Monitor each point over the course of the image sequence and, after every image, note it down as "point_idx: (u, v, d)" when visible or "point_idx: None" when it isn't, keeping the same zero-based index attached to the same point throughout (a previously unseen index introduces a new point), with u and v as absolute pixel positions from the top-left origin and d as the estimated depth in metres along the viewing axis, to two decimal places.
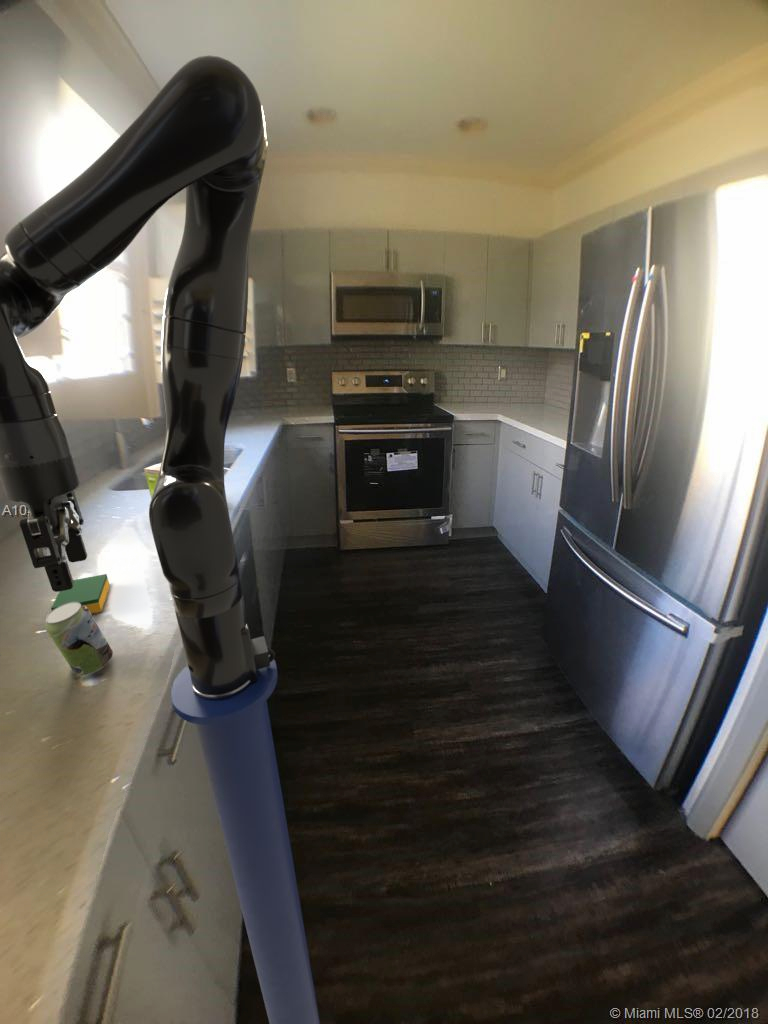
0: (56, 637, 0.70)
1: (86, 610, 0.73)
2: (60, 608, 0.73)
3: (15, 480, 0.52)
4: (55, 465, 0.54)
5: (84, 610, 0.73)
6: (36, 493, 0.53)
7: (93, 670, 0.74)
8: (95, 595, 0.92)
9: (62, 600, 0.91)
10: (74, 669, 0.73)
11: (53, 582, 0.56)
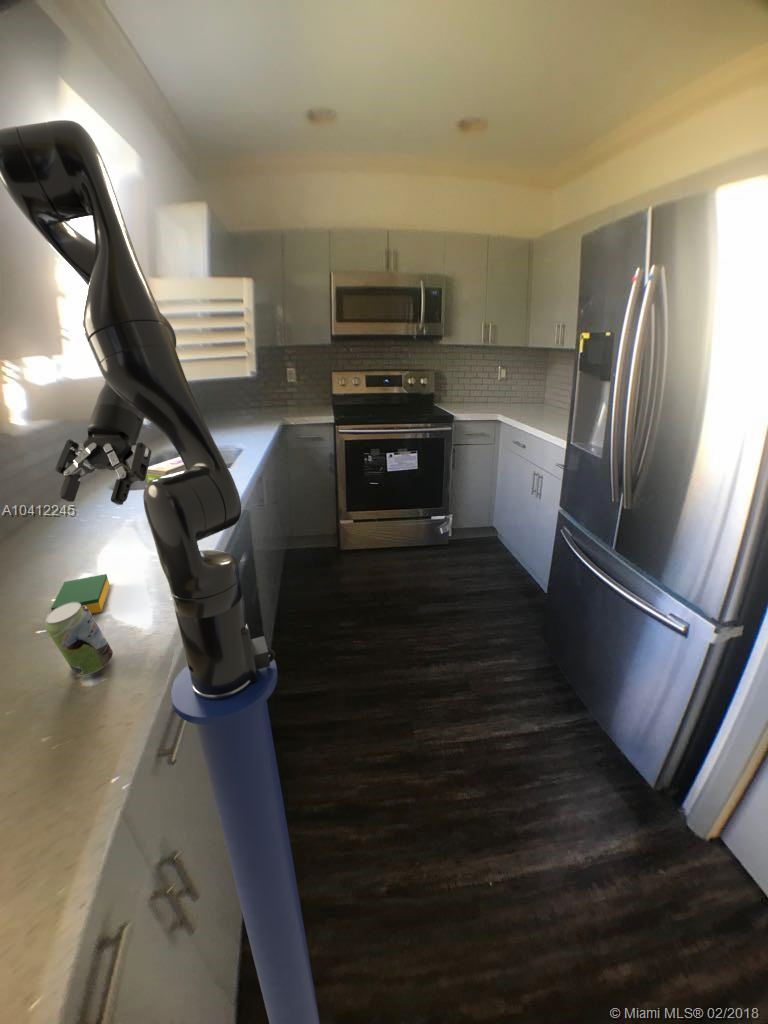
0: (56, 637, 0.70)
1: (86, 610, 0.73)
2: (60, 608, 0.73)
3: None
4: None
5: (84, 610, 0.73)
6: None
7: (93, 670, 0.74)
8: (95, 595, 0.92)
9: (62, 600, 0.91)
10: (74, 669, 0.73)
11: None
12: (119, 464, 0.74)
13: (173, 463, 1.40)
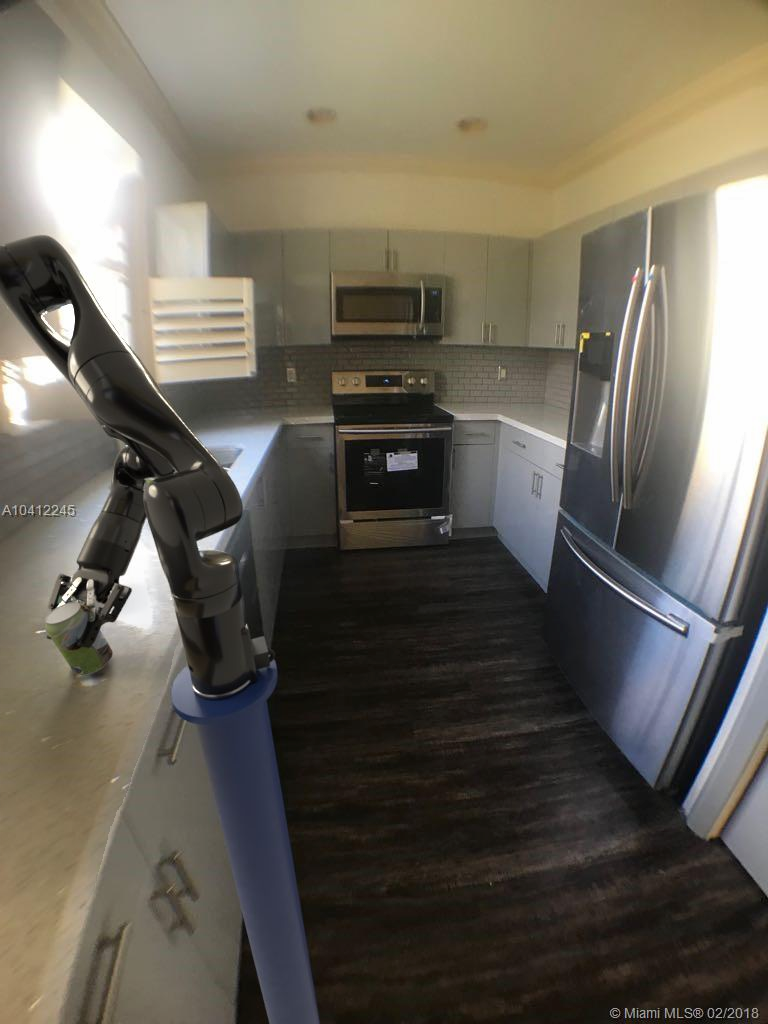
0: (55, 637, 0.70)
1: (86, 610, 0.73)
2: (59, 608, 0.72)
3: None
4: (85, 542, 0.77)
5: (84, 610, 0.72)
6: None
7: (93, 670, 0.74)
8: None
9: None
10: (74, 669, 0.73)
11: None
12: (93, 605, 0.73)
13: None
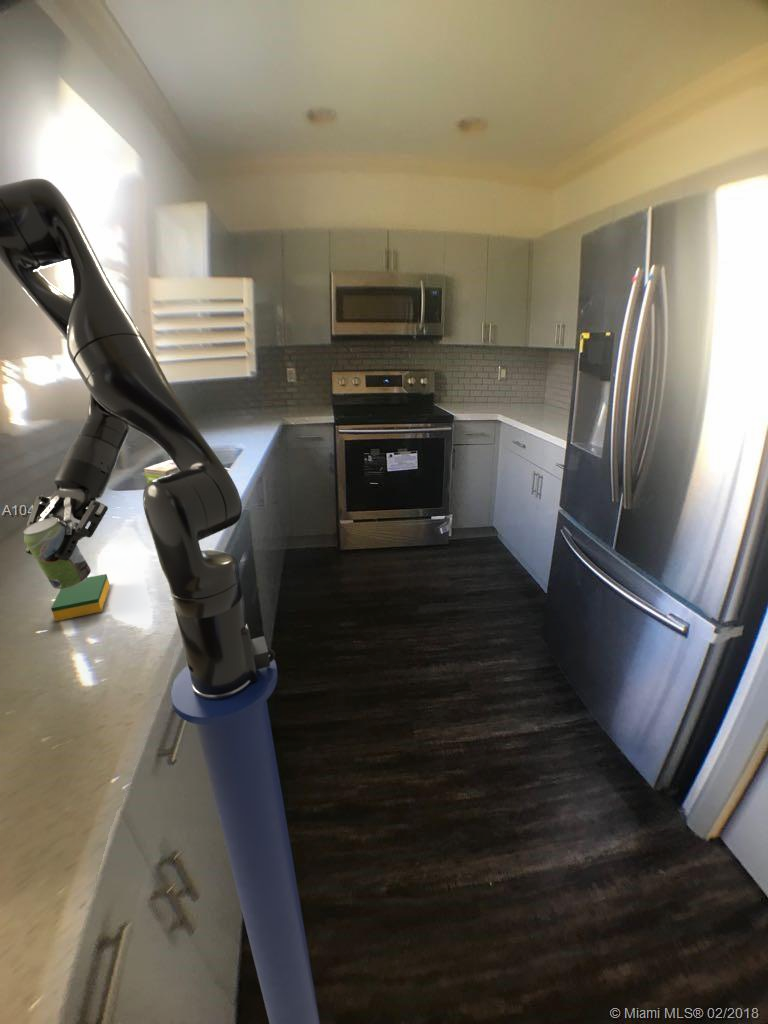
0: (33, 548, 0.73)
1: (63, 525, 0.76)
2: (37, 523, 0.76)
3: None
4: None
5: (61, 525, 0.76)
6: None
7: (71, 584, 0.77)
8: (95, 595, 0.92)
9: (62, 600, 0.91)
10: (53, 582, 0.77)
11: None
12: (69, 520, 0.76)
13: (173, 463, 1.40)
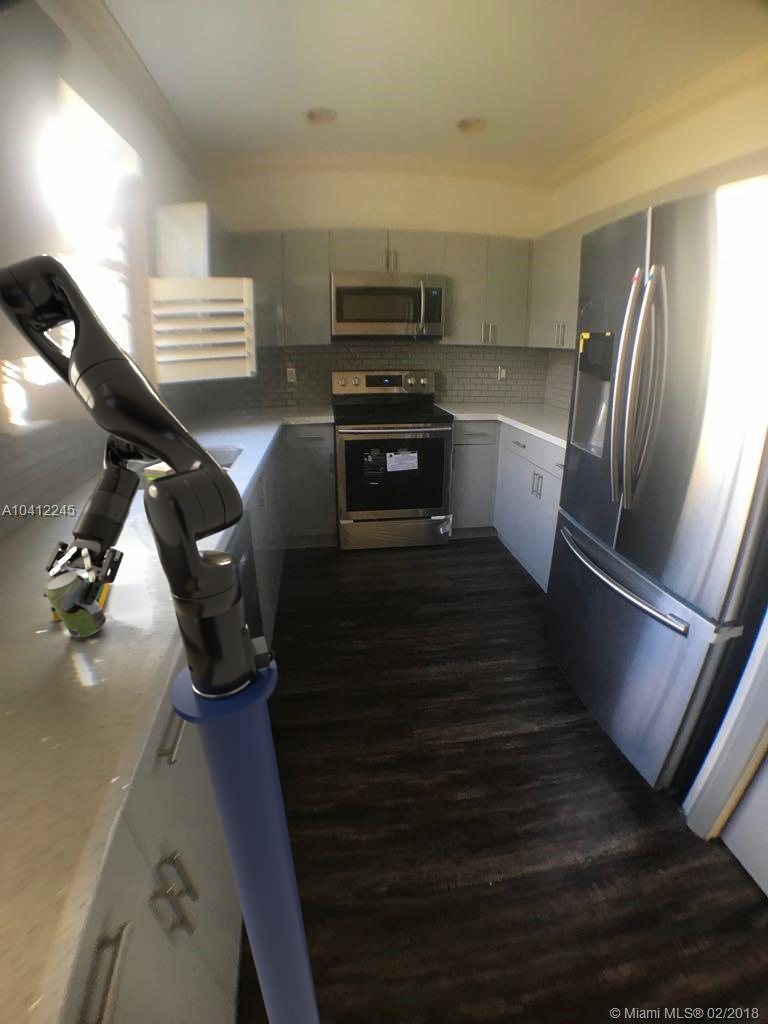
0: (55, 601, 0.79)
1: (82, 579, 0.82)
2: (58, 577, 0.82)
3: None
4: None
5: (80, 579, 0.82)
6: None
7: (88, 633, 0.83)
8: None
9: None
10: (71, 632, 0.83)
11: None
12: (91, 568, 0.82)
13: None
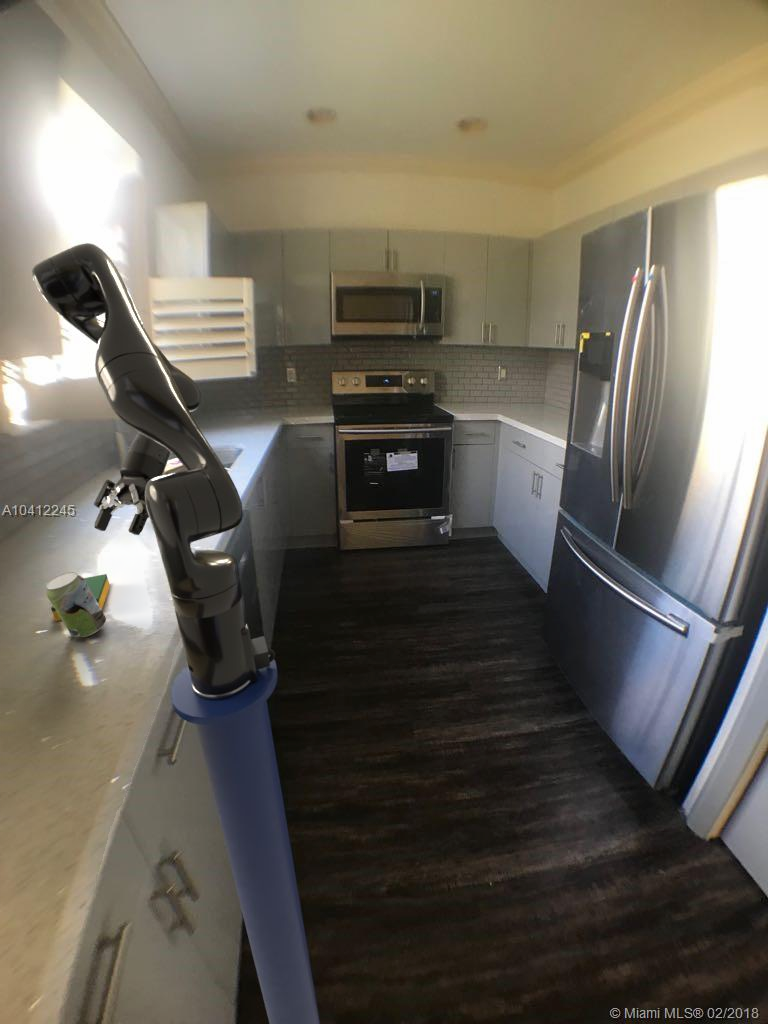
0: (55, 601, 0.79)
1: (82, 579, 0.82)
2: (58, 577, 0.82)
3: None
4: (126, 456, 0.93)
5: (80, 579, 0.82)
6: None
7: (88, 633, 0.83)
8: (95, 595, 0.92)
9: None
10: (71, 632, 0.83)
11: None
12: (138, 501, 0.89)
13: (173, 463, 1.40)
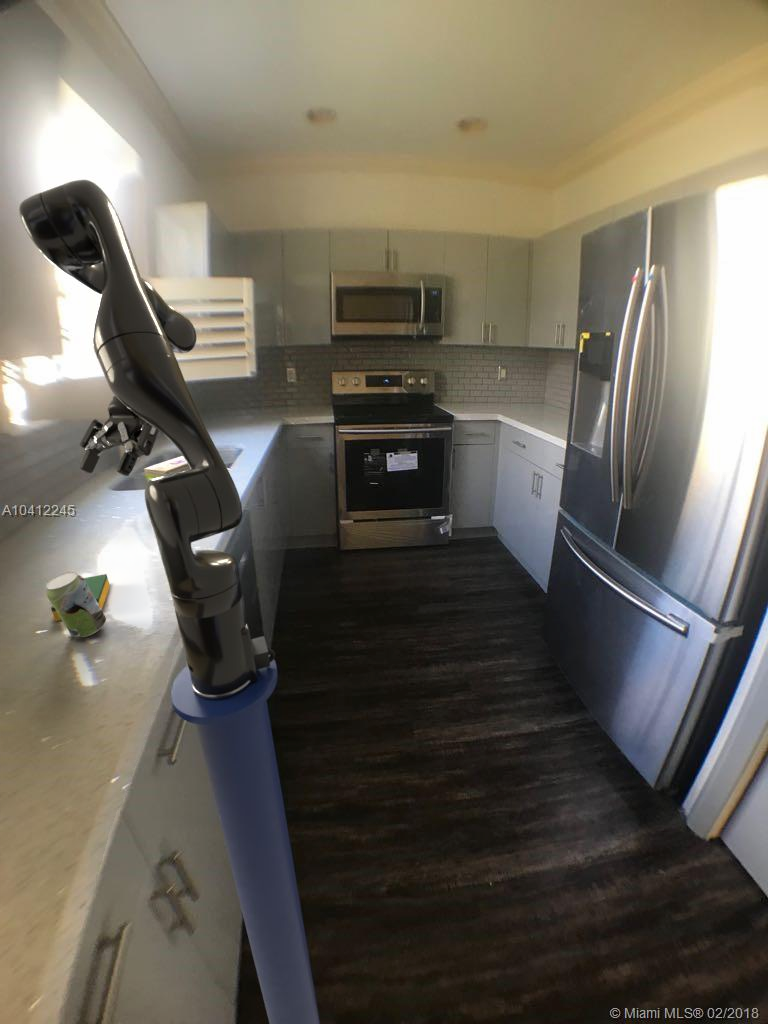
0: (55, 601, 0.79)
1: (82, 579, 0.82)
2: (58, 577, 0.82)
3: None
4: None
5: (80, 579, 0.82)
6: None
7: (88, 633, 0.83)
8: (95, 595, 0.92)
9: None
10: (71, 632, 0.83)
11: None
12: (128, 439, 0.82)
13: (173, 463, 1.40)
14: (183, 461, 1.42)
